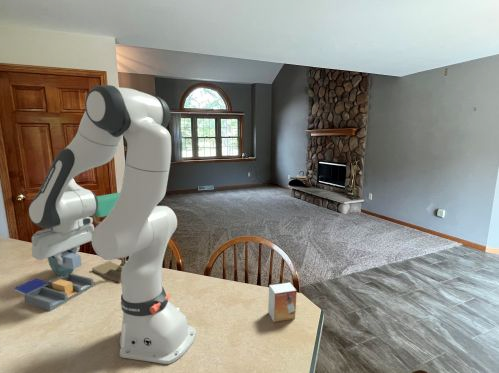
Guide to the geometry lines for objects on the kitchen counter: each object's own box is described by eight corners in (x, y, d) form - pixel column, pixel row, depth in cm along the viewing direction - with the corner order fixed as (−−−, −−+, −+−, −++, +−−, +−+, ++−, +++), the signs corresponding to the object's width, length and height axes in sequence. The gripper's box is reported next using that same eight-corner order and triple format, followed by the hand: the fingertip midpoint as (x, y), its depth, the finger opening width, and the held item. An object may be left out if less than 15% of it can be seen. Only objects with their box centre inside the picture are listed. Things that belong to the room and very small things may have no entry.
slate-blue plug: (81, 265, 95) (80, 254, 95) (73, 269, 93) (72, 258, 92) (63, 260, 99) (62, 250, 98) (55, 264, 96) (54, 253, 95)
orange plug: (73, 291, 103) (72, 282, 102) (65, 296, 100) (64, 286, 99) (56, 287, 106) (55, 277, 105) (48, 291, 103) (47, 281, 102)
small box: (273, 322, 88) (274, 293, 86) (267, 312, 94) (268, 284, 92) (295, 318, 90) (297, 290, 89) (289, 308, 96) (290, 281, 94)
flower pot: (71, 266, 125) (69, 248, 123) (79, 271, 120) (77, 253, 118) (48, 273, 118) (46, 254, 116) (56, 280, 113) (54, 260, 111)
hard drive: (13, 287, 105) (31, 295, 100) (37, 277, 112) (55, 284, 107) (14, 291, 105) (32, 299, 100) (37, 281, 113) (55, 288, 107)
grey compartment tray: (93, 286, 108) (92, 278, 108) (50, 310, 93) (49, 302, 92) (70, 280, 113) (69, 273, 112) (25, 302, 97) (24, 294, 96)
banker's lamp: (111, 287, 108) (104, 202, 102) (82, 274, 118) (74, 196, 112) (144, 271, 121) (139, 195, 115) (115, 260, 131) (110, 190, 125)
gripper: (38, 234, 82) (42, 276, 85) (96, 217, 101) (99, 251, 103) (24, 231, 84) (29, 272, 87) (84, 214, 103) (87, 248, 106)
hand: (67, 260), depth 95 cm, fingers closed on slate-blue plug, 3 cm apart
